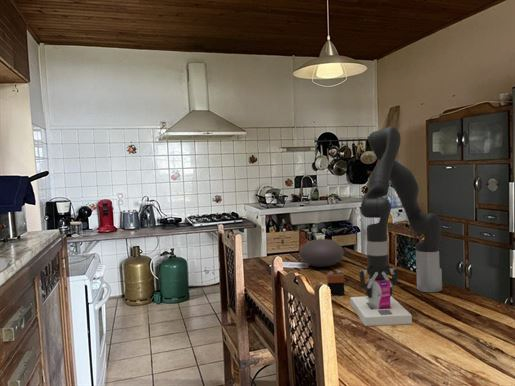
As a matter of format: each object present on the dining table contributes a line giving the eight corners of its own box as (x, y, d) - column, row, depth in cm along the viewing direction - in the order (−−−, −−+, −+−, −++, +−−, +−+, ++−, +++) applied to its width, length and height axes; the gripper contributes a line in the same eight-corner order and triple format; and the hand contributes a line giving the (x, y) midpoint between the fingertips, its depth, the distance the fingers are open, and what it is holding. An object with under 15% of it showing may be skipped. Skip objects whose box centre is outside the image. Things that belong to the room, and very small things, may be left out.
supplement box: (377, 313, 143) (376, 282, 142) (368, 308, 149) (367, 278, 148) (391, 311, 144) (390, 280, 144) (382, 305, 150) (381, 276, 149)
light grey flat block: (390, 302, 157) (390, 294, 157) (411, 323, 135) (411, 314, 135) (350, 304, 157) (350, 296, 157) (365, 326, 136) (364, 316, 135)
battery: (344, 295, 169) (343, 272, 169) (328, 296, 170) (327, 273, 169) (343, 292, 173) (342, 270, 173) (327, 292, 174) (326, 270, 173)
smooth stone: (291, 264, 229) (290, 239, 229) (327, 258, 240) (326, 234, 239) (315, 273, 207) (314, 245, 206) (353, 266, 217) (352, 239, 217)
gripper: (393, 249, 149) (395, 292, 150) (355, 251, 149) (357, 294, 150) (400, 253, 142) (402, 299, 142) (360, 255, 142) (362, 301, 143)
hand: (379, 296), depth 146 cm, fingers closed on supplement box, 6 cm apart
